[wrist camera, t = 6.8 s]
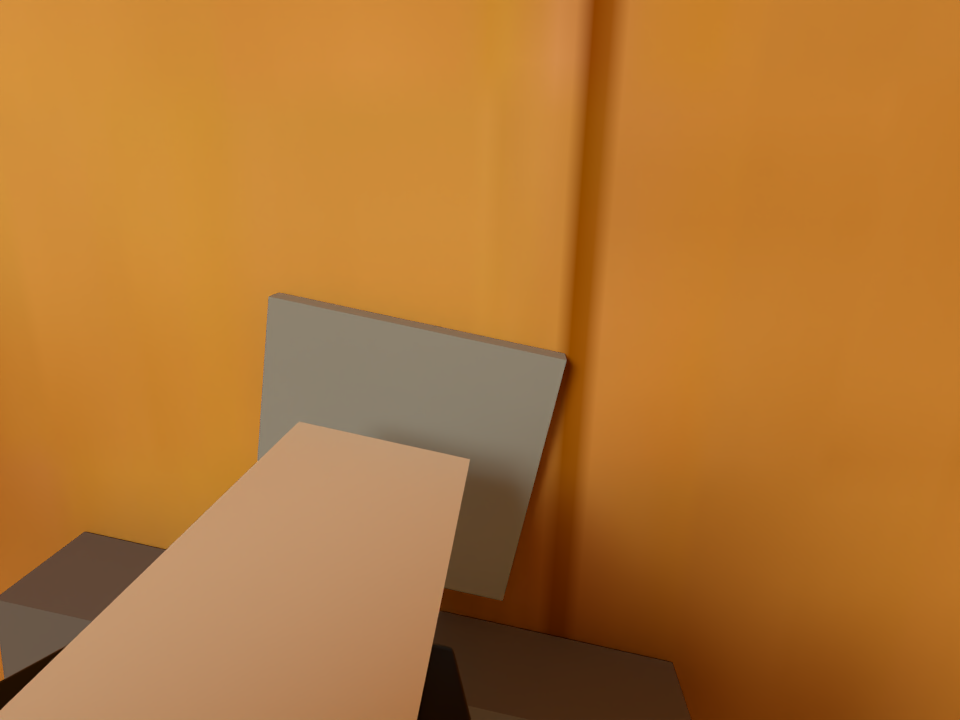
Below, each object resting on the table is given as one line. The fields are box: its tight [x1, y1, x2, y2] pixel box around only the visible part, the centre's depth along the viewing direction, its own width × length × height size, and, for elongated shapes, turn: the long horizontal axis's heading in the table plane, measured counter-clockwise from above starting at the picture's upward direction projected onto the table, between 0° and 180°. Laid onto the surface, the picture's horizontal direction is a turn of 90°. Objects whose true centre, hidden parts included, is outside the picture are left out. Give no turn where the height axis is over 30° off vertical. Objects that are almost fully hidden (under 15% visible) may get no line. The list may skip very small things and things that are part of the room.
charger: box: [0, 422, 470, 720], centre depth 8 cm, size 4×4×8 cm
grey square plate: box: [258, 293, 567, 601], centre depth 15 cm, size 8×8×1 cm
